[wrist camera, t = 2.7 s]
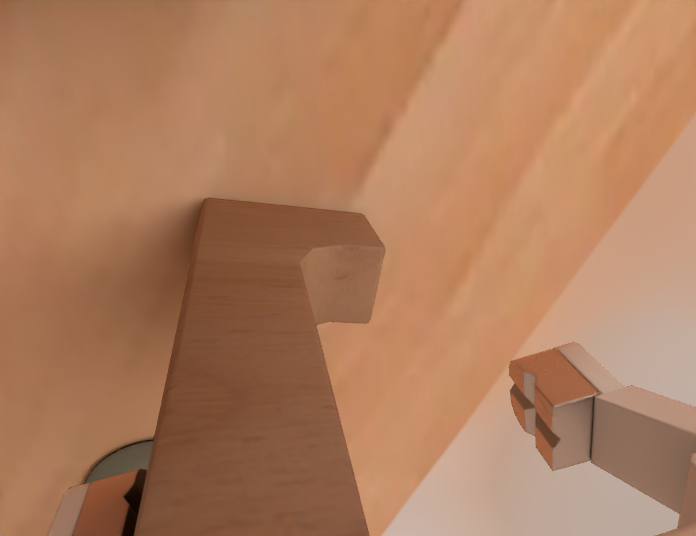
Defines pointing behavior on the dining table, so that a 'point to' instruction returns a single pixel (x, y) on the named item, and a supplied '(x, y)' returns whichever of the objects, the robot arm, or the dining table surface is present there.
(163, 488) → the wooden block
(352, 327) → the dining table surface
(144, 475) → the robot arm
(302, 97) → the dining table surface
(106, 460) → the coffee cup
